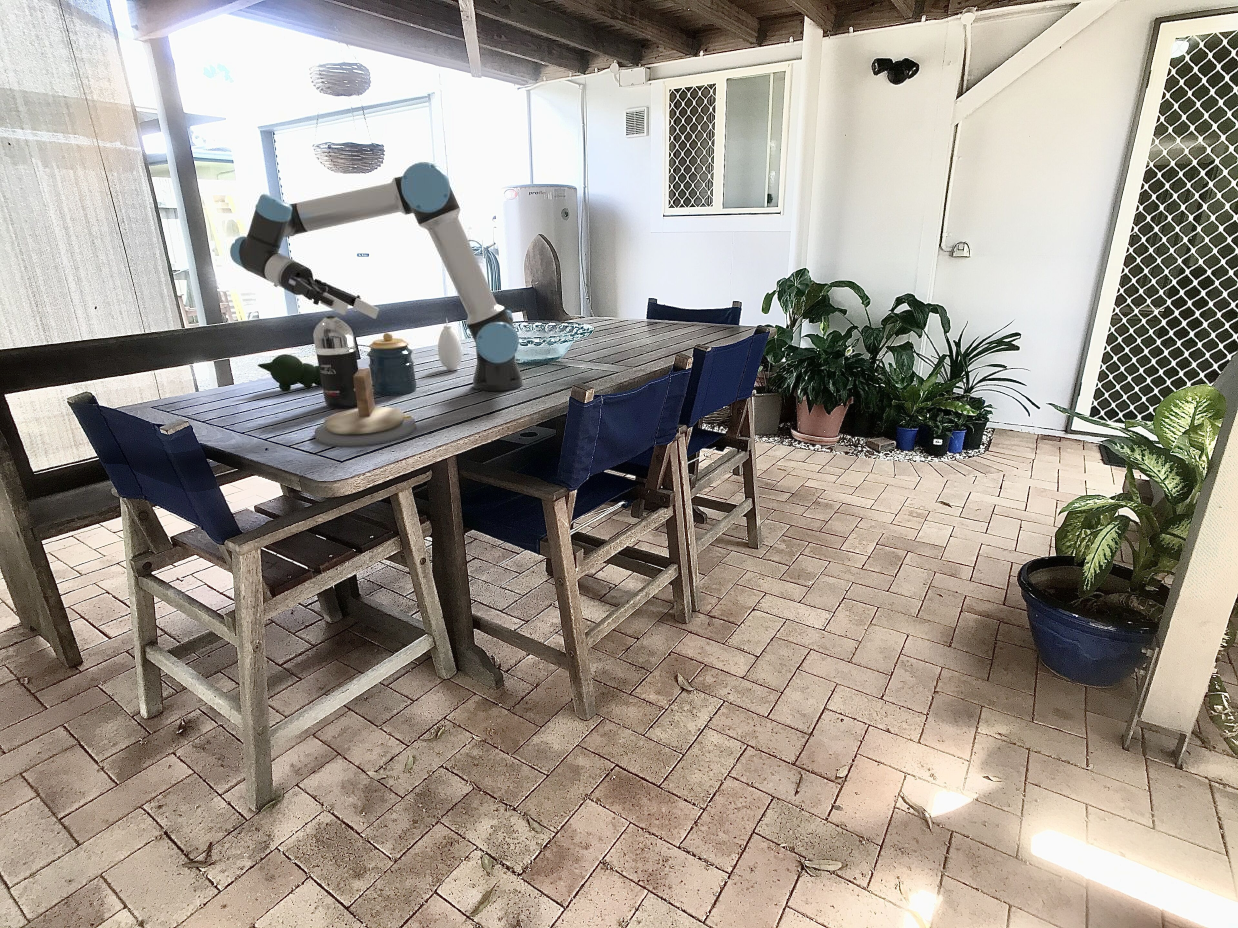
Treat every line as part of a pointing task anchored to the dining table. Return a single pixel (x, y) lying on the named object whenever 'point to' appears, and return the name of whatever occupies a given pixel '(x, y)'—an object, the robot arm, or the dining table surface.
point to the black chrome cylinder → (336, 362)
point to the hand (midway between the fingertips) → (362, 312)
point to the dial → (364, 411)
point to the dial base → (365, 435)
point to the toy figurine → (292, 372)
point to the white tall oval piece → (449, 348)
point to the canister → (391, 366)
